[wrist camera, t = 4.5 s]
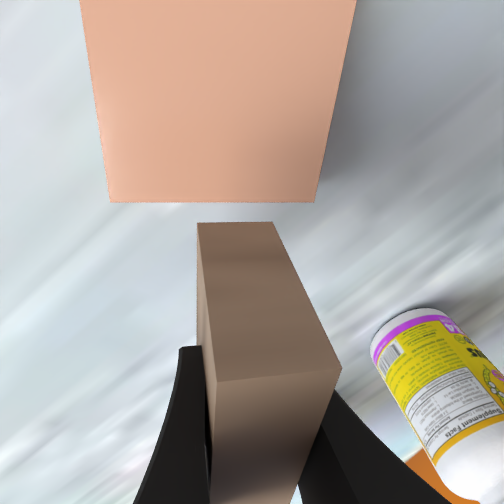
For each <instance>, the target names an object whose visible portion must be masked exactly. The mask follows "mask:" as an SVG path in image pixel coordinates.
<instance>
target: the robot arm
mask: <svg viewBox="0 0 504 504" xmlns="http://www.w3.org/2000/svg"><path fill="white" fill-rule="evenodd" d="M298 487H299V490H300V494H301V498H302V503H303V504H452V503H450V502H449V501H448V500H447V499H445V498H444V497H443V496H442V495H440V494H439V493H438V492H437V491H436V490H435V489H434V488H432V487H431V486H430V485H429V484H427V482H425V481H424V480H423V479H422V478H421V477H420V476H418V475H417V474H416V473H415V472H414V471H413V470H411V469H410V468H409V467H408V466H407V465H406V464H405V463H404V462H403V461H402V460H401V459H400V458H398V457H397V456H396V455H395V454H394V453H393V452H392V451H391V450H390V449H389V448H388V447H387V446H386V445H385V444H384V443H383V442H382V441H381V440H380V439H379V438H378V437H377V436H376V435H375V434H374V433H373V432H372V431H371V430H370V429H369V428H368V427H367V426H366V425H365V424H364V423H363V421H362V420H361V419H360V418H359V417H358V416H357V415H356V414H355V413H354V412H353V410H352V409H351V408H350V407H349V406H348V405H347V404H346V402H345V401H344V400H343V399H342V398H341V397H340V395H339V394H338V393H337V392H336V390H335V389H334V391H333V394H332V396H331V399H330V401H329V404H328V406H327V409H326V412H325V414H324V417H323V419H322V422H321V424H320V427H319V430H318V432H317V435H316V437H315V440H314V443H313V445H312V448H311V450H310V453H309V455H308V458H307V461H306V463H305V466H304V468H303V471H302V473H301V476H300V479H299V481H298ZM133 504H210V500H209V490H208V479H207V468H206V457H205V371H204V362H203V354H202V346H201V345H197V346H186V347H182V348H180V349H179V358H178V366H177V372H176V378H175V382H174V387H173V391H172V395H171V398H170V402H169V406H168V409H167V413H166V416H165V420H164V423H163V426H162V429H161V432H160V435H159V438H158V440H157V443H156V446H155V449H154V452H153V455H152V457H151V460H150V463H149V465H148V468H147V471H146V473H145V476H144V478H143V481H142V483H141V486H140V488H139V490H138V493H137V495H136V498H135V500H134V502H133Z"/></svg>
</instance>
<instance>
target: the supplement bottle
mask: <svg viewBox="0 0 504 504" xmlns="http://www.w3.org/2000/svg"><path fill="white" fill-rule="evenodd" d="M370 355H371V359H372V361H373V363H374V364H375V366H376V368H377V370H378V371H379V373H380V375H381V377H382V378H383V380H384V382H385V383H386V385H387V387H388V389H389V390H390V392H391V394H392V395H393V397H394V399H395V400H396V402H397V404H398V405H399V407H400V409H401V411H402V412H403V414H404V416H405V417H406V419H407V421H408V422H409V424H410V426H411V428H412V429H413V431H414V433H415V434H416V436H417V438H418V440H419V441H420V443H421V445H422V446H423V448H424V450H425V452H426V453H427V455H428V457H429V459H430V460H431V462H432V464H433V466H434V467H435V469H436V471H437V473H438V474H439V476H440V478H441V479H442V481H443V482H444V484H445V485H446V486H447V487H448V488H449V489H450V490H451V491H452V492H453V493H455V494H457V495H458V496H461V497H463V498H466V499H470V500H477V501H479V502H480V504H504V376H503V375H502V374H501V373H500V371H499V370H498V369H497V368H496V367H495V366H494V365H493V364H492V363H491V362H490V361H489V360H488V358H487V357H486V356H485V355H484V354H483V353H482V352H481V351H480V350H479V349H478V348H477V346H476V345H475V344H474V343H473V342H472V341H471V340H470V339H469V338H468V337H467V336H466V335H465V333H464V332H463V331H462V330H461V329H460V328H459V327H458V326H457V325H456V324H455V323H454V322H453V321H452V320H451V319H450V318H449V317H448V316H447V315H446V314H445V313H443V312H441V311H439V310H436V309H431V308H420V309H414V310H411V311H407V312H405V313H402V314H400V315H398V316H397V317H395V318H394V319H392V320H390V321H389V322H388V323H386V324H385V325H384V326H383V327H382V328H381V329H380V330H379V331H378V332H377V334H376V335H375V337H374V338H373V340H372V343H371V347H370Z"/></svg>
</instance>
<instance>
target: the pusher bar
mask: <svg viewBox="0 0 504 504" xmlns="http://www.w3.org/2000/svg"><path fill="white" fill-rule="evenodd" d="M197 345H201V346H202V354H203V362H204V371H205V457H206V468H207V479H208V490H209V500H210V504H290V502H291V499H292V497H293V494H294V492H295V489H296V486H297V484H298V481H299V479H300V476H301V473H302V471H303V468H304V466H305V463H306V461H307V458H308V455H309V453H310V450H311V448H312V445H313V443H314V440H315V437H316V435H317V432H318V430H319V427H320V424H321V422H322V419H323V417H324V414H325V412H326V409H327V406H328V404H329V401H330V399H331V396H332V394H333V391H334V388H335V386H336V383H337V381H338V378H339V375H340V373H341V370H342V366H341V364H340V362H339V360H338V358H337V356H336V354H335V352H334V349H333V347H332V345H331V343H330V341H329V339H328V337H327V335H326V333H325V331H324V329H323V327H322V324H321V322H320V320H319V318H318V316H317V314H316V312H315V310H314V308H313V306H312V304H311V301H310V299H309V297H308V295H307V293H306V291H305V289H304V287H303V285H302V283H301V281H300V279H299V276H298V274H297V272H296V270H295V268H294V266H293V264H292V262H291V260H290V258H289V256H288V253H287V251H286V249H285V247H284V245H283V243H282V241H281V239H280V237H279V235H278V233H277V231H276V228H275V226H274V224H273V222H218V223H197Z"/></svg>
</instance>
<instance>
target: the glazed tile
mask: <svg viewBox="0 0 504 504" xmlns="http://www.w3.org/2000/svg"><path fill="white" fill-rule="evenodd" d="M79 1H80V7H81V14H82V21H83V27H84V34H85V40H86V47H87V53H88V60H89V66H90V73H91V80H92V86H93V93H94V99H95V106H96V112H97V119H98V126H99V132H100V139H101V145H102V152H103V158H104V165H105V171H106V178H107V185H108V191H109V198H110V202H314V200H315V195H316V190H317V186H318V181H319V176H320V171H321V167H322V162H323V157H324V153H325V148H326V143H327V138H328V134H329V129H330V124H331V120H332V115H333V110H334V105H335V101H336V96H337V91H338V87H339V82H340V77H341V72H342V68H343V63H344V58H345V54H346V49H347V44H348V39H349V35H350V30H351V25H352V21H353V16H354V11H355V6H356V2H357V0H79Z"/></svg>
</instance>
